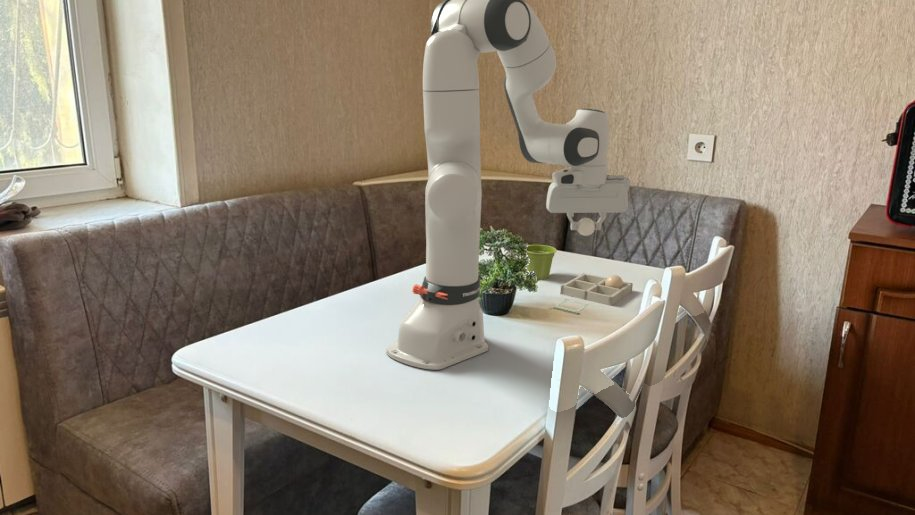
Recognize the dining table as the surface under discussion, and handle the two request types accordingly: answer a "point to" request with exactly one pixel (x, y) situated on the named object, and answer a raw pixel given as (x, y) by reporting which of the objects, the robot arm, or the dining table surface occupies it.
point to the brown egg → (614, 282)
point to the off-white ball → (586, 226)
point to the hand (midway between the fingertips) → (585, 229)
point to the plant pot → (540, 260)
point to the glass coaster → (569, 309)
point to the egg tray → (595, 289)
